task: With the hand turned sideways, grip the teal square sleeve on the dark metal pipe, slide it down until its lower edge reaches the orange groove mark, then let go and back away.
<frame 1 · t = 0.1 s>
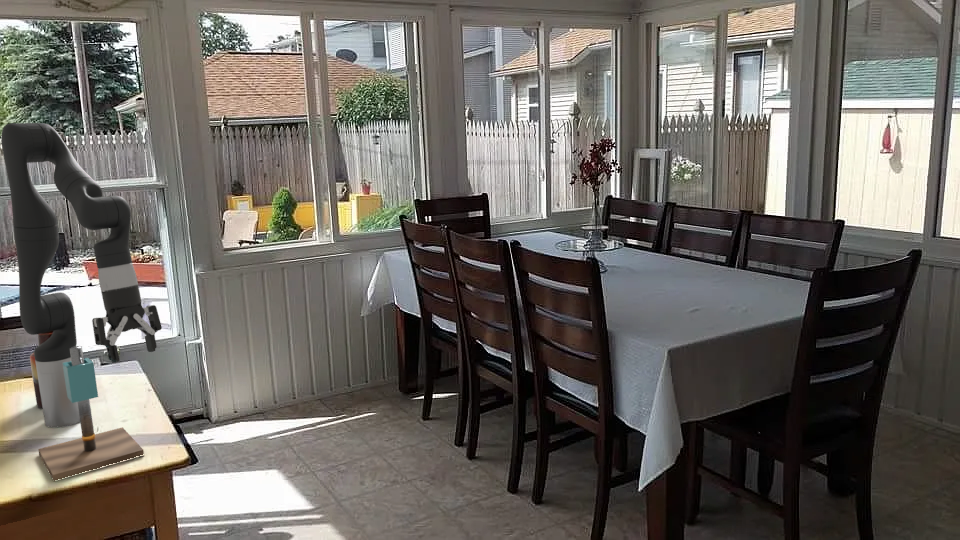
hand: (134, 356, 165), 22 cm above the table, tool pointing down, fingers open, 8 cm apart
sleeve: (80, 380, 164), point 18 cm above the table, slide at 0.0 cm
pipe: (83, 399, 165), on the stand board, point 14 cm above the table
stand board: (91, 455, 167), on the table
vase: (59, 403, 203), on the table
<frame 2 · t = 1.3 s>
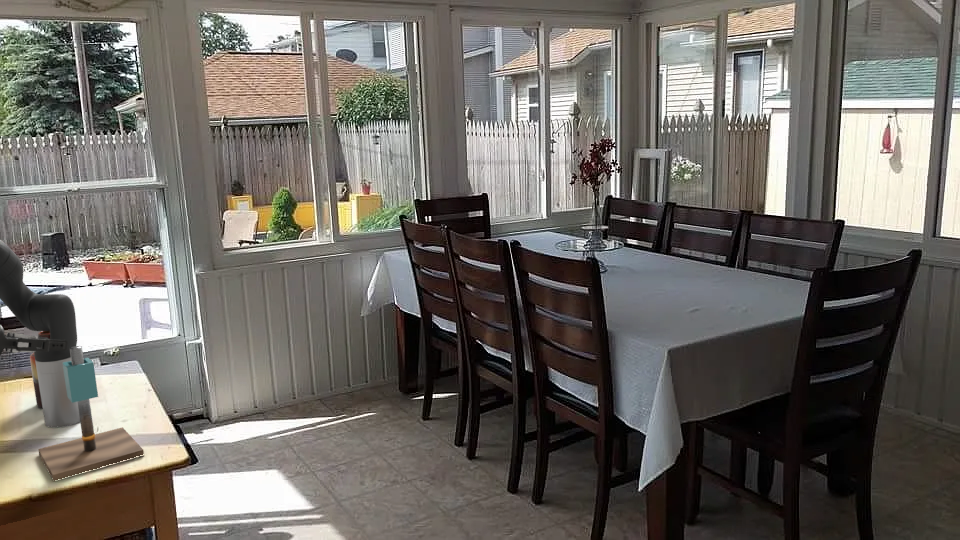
hand: (57, 344, 159), 27 cm above the table, tool tilted 75°, fingers open, 8 cm apart
nothing on the table moved.
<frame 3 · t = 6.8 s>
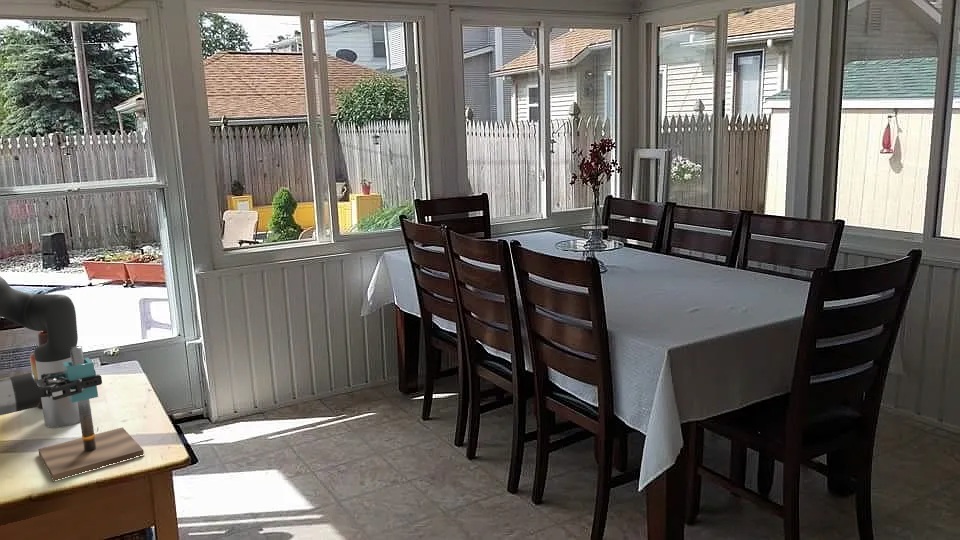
hand: (97, 376, 166), 18 cm above the table, tool horizontal, fingers closed on sleeve, 5 cm apart
sleeve: (80, 379, 164), point 18 cm above the table, slide at 0.0 cm, touching gripper
everything else where it was.
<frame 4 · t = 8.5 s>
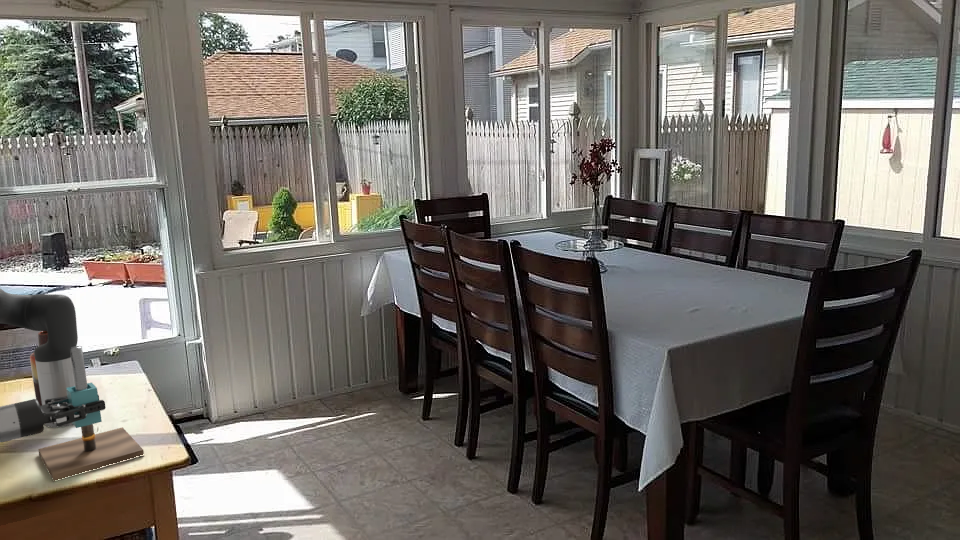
hand: (101, 401, 167), 12 cm above the table, tool horizontal, fingers closed on sleeve, 5 cm apart
sleeve: (83, 404, 165), point 12 cm above the table, slide at -5.9 cm, touching gripper
everything else where it was.
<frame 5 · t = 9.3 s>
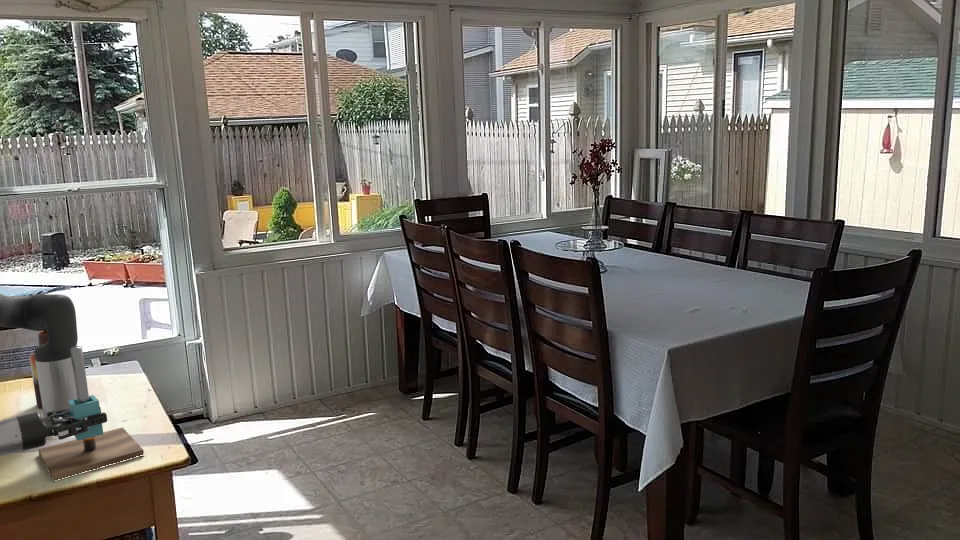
hand: (103, 413, 168), 9 cm above the table, tool horizontal, fingers closed on sleeve, 5 cm apart
sleeve: (85, 417, 165), point 9 cm above the table, slide at -8.9 cm, touching gripper
everything else where it was.
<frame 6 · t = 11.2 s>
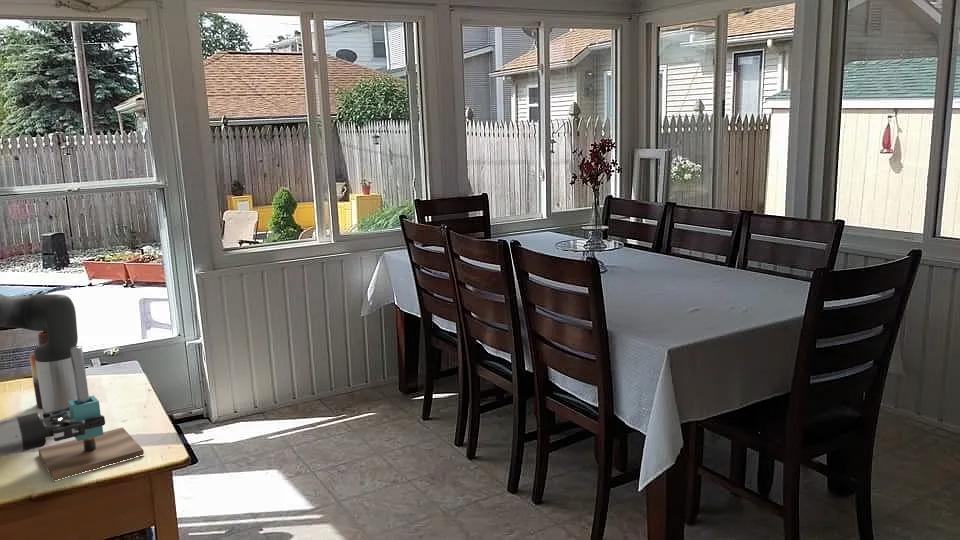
hand: (100, 414, 167), 9 cm above the table, tool horizontal, fingers open, 8 cm apart
sleeve: (85, 417, 165), point 9 cm above the table, slide at -9.0 cm
everything else where it was.
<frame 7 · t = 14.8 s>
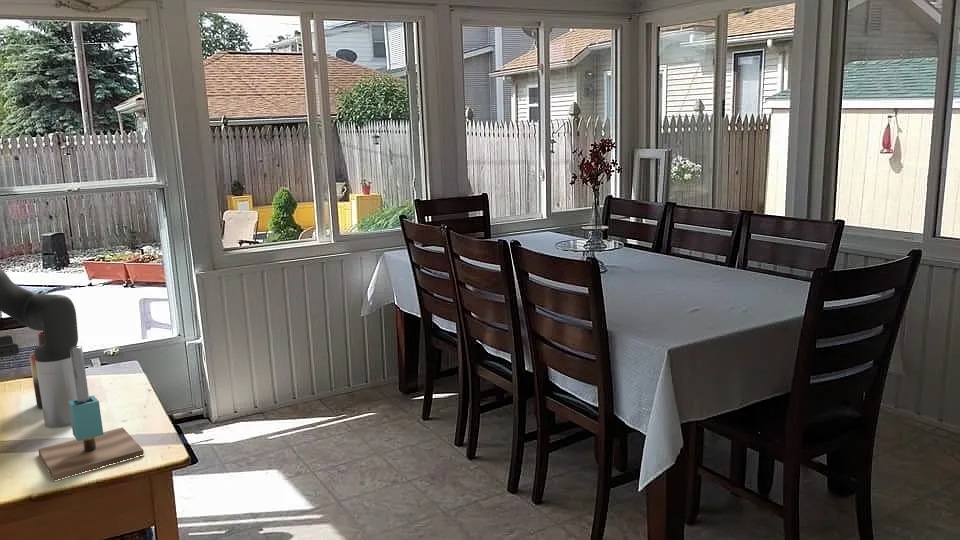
hand: (15, 344, 155), 29 cm above the table, tool horizontal, fingers open, 8 cm apart
nothing on the table moved.
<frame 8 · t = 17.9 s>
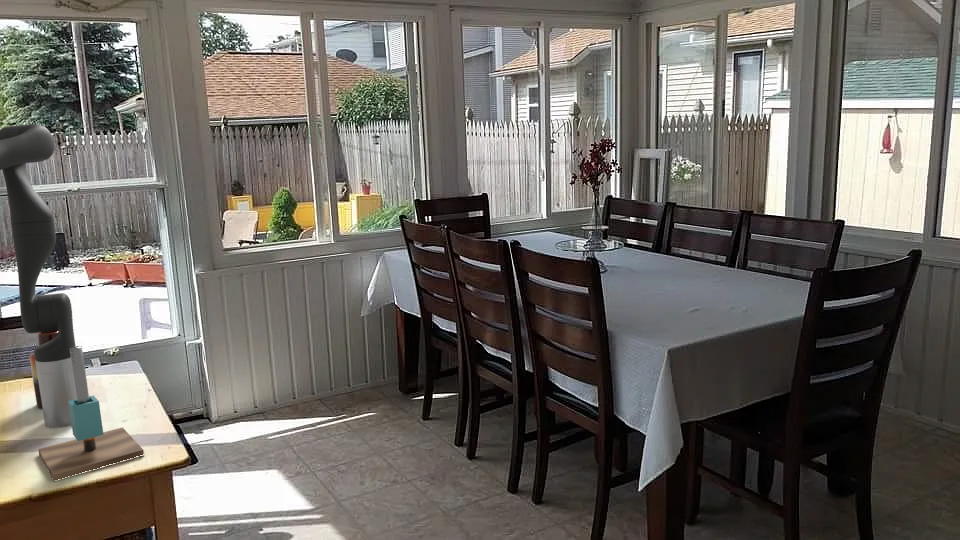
nothing on the table moved.
at the end: sleeve slide at -9.0 cm; the gripper is holding nothing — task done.
